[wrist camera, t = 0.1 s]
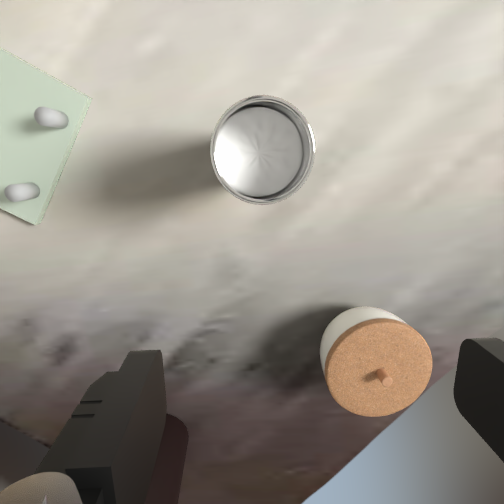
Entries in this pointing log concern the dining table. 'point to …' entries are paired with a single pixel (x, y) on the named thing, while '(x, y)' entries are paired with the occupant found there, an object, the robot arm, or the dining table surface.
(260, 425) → the dining table surface
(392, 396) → the lidded jar
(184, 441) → the bottle
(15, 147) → the peg stand
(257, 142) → the shiny metal tumbler
